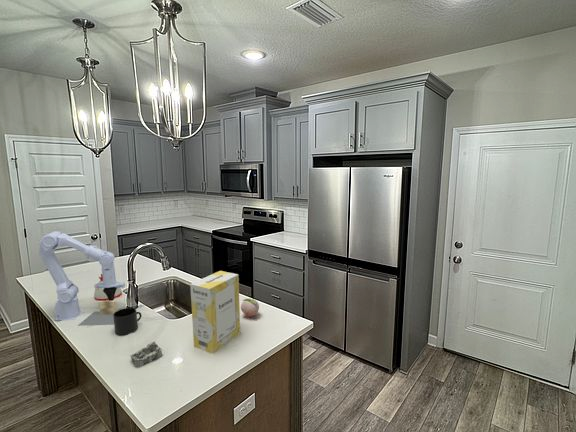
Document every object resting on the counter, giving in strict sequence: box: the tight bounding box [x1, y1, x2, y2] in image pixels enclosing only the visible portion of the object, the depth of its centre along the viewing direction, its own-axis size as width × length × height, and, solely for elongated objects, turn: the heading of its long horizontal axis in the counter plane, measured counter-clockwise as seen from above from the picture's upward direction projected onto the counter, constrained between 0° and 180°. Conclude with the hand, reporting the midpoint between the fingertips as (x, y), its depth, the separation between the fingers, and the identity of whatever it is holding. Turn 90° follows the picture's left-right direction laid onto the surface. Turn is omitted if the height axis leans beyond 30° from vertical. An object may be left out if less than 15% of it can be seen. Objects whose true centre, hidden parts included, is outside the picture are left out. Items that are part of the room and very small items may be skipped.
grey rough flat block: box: [129, 340, 163, 368], centre depth 122 cm, size 11×8×4 cm
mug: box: [113, 307, 142, 336], centre depth 143 cm, size 9×12×9 cm
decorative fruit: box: [240, 298, 260, 318], centre depth 154 cm, size 9×8×10 cm
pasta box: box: [189, 270, 241, 355], centre depth 133 cm, size 18×10×28 cm, turn 151°
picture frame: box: [77, 311, 114, 327], centre depth 153 cm, size 18×14×1 cm
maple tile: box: [98, 299, 118, 315], centre depth 157 cm, size 8×1×7 cm, turn 93°
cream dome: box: [93, 273, 123, 302], centre depth 178 cm, size 14×14×15 cm
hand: (111, 300), depth 160 cm, fingers closed
